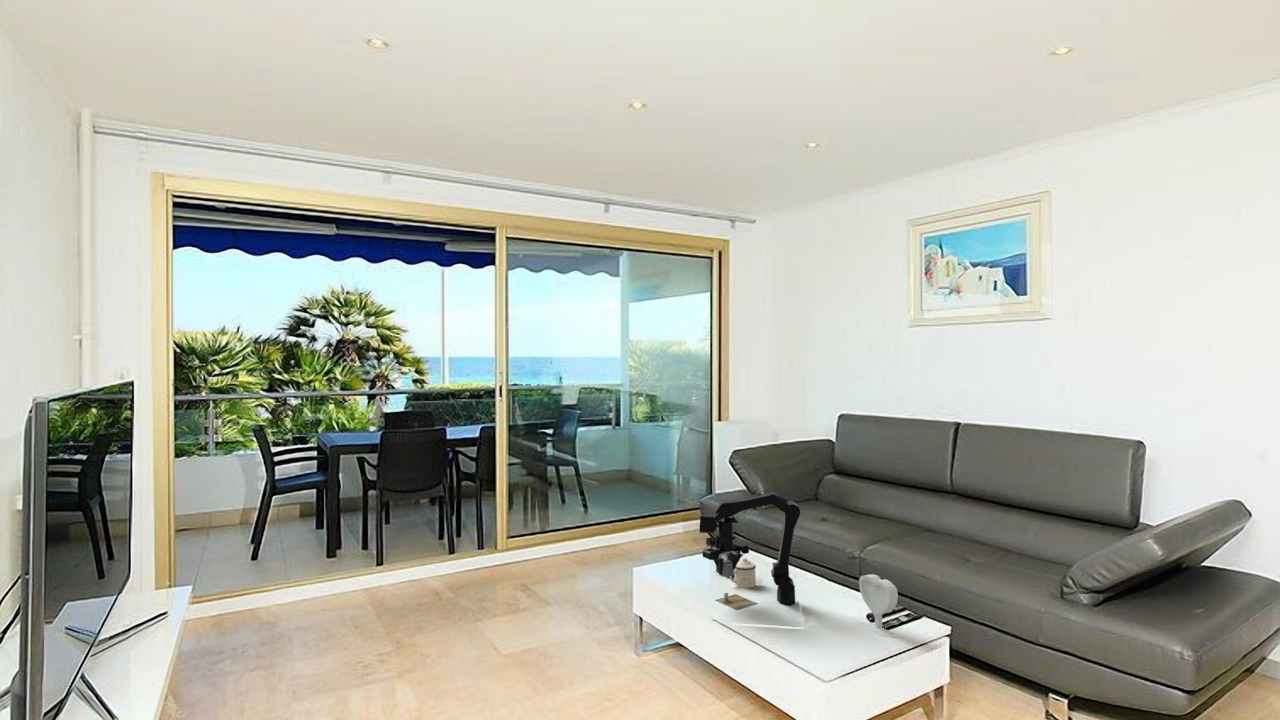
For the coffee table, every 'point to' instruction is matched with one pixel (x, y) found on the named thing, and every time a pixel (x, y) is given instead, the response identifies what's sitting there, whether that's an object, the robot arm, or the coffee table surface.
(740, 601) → the base plate
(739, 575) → the teacup with lid
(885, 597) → the heart sculpture
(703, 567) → the coffee table surface
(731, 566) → the knob
